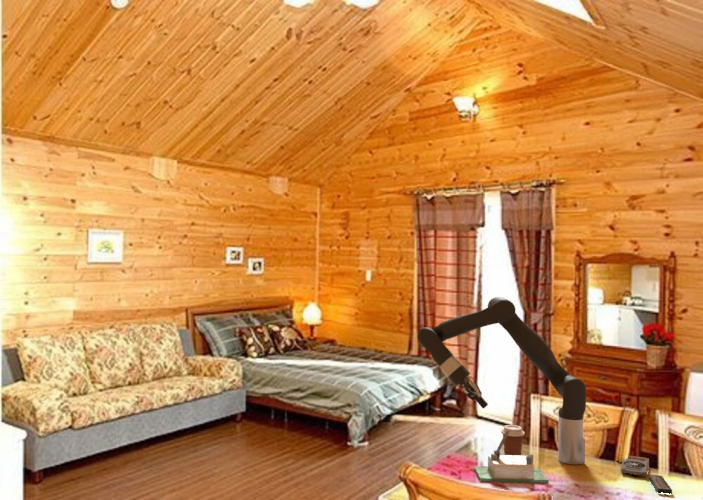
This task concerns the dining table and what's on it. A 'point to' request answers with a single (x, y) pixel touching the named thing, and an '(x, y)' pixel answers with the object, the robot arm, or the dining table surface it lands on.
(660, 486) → the multiport hub
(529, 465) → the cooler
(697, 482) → the dining table surface
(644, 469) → the graphics card
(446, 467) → the dining table surface
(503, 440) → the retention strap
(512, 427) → the coffee cup
